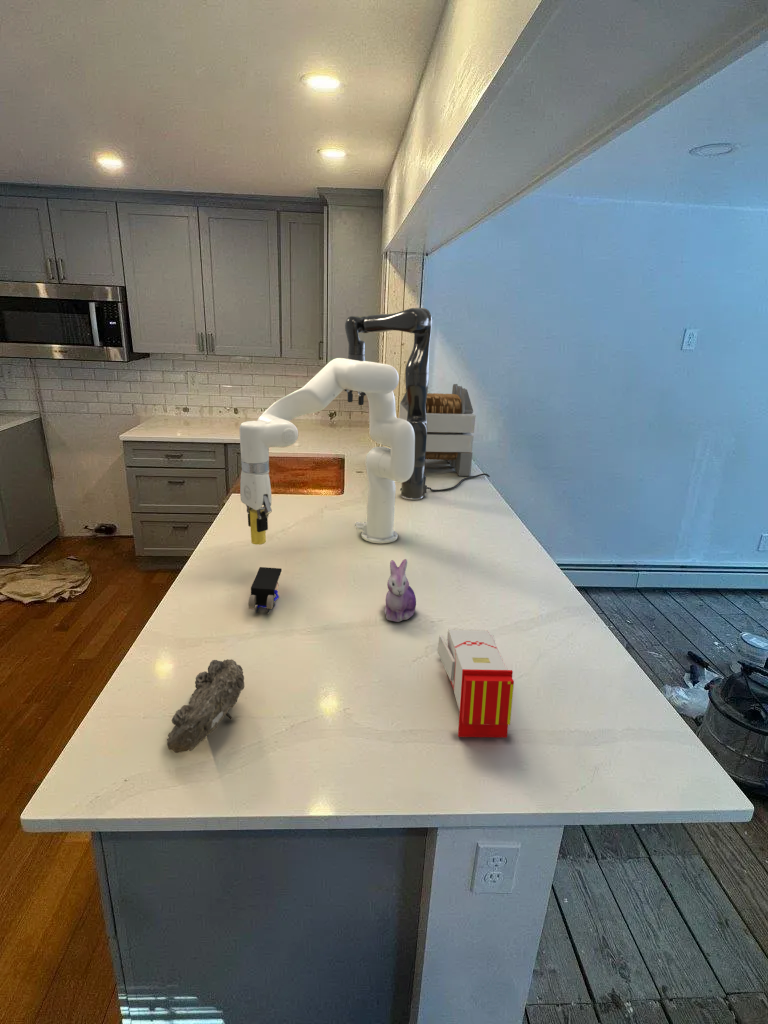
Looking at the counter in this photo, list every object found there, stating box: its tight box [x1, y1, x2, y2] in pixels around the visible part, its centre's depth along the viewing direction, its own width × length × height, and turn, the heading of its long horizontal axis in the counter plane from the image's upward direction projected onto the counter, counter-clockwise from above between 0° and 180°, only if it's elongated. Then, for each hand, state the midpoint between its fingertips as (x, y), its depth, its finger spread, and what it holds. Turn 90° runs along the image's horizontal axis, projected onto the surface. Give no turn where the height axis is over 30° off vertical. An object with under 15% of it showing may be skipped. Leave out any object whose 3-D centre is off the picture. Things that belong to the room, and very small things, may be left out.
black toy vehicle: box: [248, 566, 283, 614], centre depth 148 cm, size 7×8×15 cm
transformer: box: [398, 383, 476, 477], centre depth 280 cm, size 34×33×41 cm
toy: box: [437, 628, 515, 738], centre depth 117 cm, size 12×13×30 cm
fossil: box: [166, 658, 245, 754], centre depth 106 cm, size 22×10×15 cm
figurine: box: [384, 558, 417, 623], centre depth 145 cm, size 9×10×15 cm
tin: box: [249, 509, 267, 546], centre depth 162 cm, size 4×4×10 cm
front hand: (258, 527), depth 162 cm, fingers closed on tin, 4 cm apart
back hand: (355, 403), depth 248 cm, fingers open, 8 cm apart
